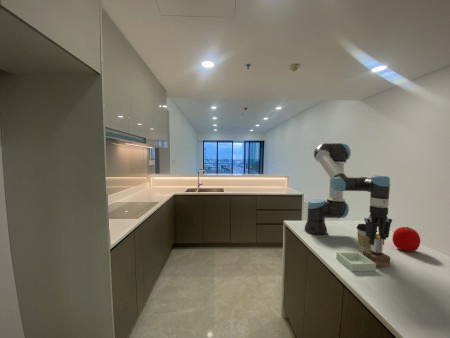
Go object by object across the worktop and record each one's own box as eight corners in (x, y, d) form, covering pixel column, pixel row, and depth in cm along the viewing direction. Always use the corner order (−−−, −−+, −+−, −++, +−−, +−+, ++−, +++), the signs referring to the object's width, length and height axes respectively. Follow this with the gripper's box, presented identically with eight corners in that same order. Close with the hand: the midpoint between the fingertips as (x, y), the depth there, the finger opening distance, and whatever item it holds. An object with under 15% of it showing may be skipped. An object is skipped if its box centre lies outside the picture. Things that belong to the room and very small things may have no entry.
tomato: (395, 251, 116) (396, 227, 115) (389, 243, 126) (390, 222, 125) (424, 256, 110) (425, 231, 109) (415, 248, 121) (416, 225, 120)
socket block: (362, 259, 107) (362, 250, 106) (376, 258, 107) (377, 249, 107) (374, 267, 99) (375, 257, 98) (389, 266, 99) (390, 257, 99)
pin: (370, 261, 104) (372, 233, 103) (375, 261, 104) (377, 233, 103) (375, 264, 101) (376, 235, 100) (380, 264, 102) (382, 235, 101)
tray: (336, 258, 107) (336, 252, 107) (357, 258, 108) (357, 251, 107) (351, 271, 95) (352, 264, 95) (375, 270, 96) (375, 263, 95)
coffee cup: (379, 256, 110) (381, 229, 109) (360, 254, 112) (361, 228, 111) (370, 248, 119) (371, 224, 118) (352, 246, 121) (353, 222, 120)
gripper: (369, 207, 97) (367, 254, 98) (400, 207, 98) (397, 254, 99) (358, 204, 104) (356, 247, 106) (387, 204, 105) (384, 247, 107)
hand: (376, 250), depth 102 cm, fingers closed on pin, 3 cm apart
